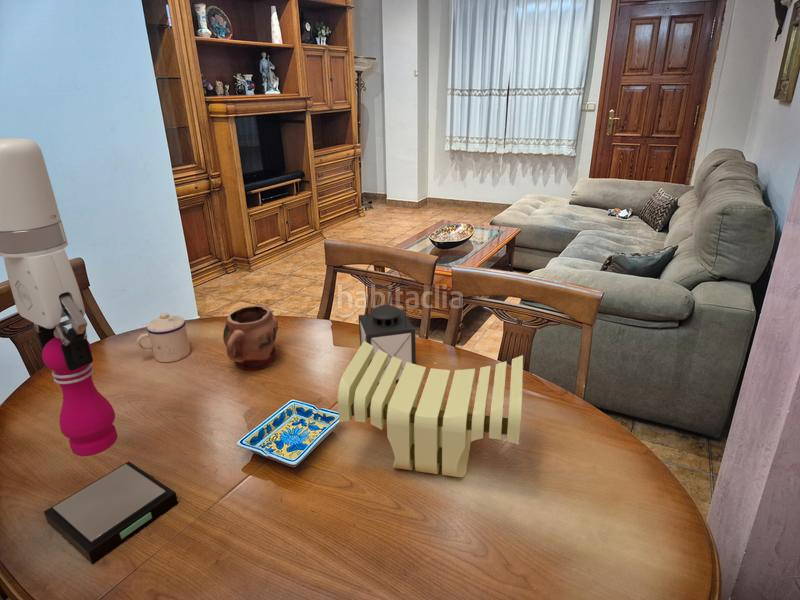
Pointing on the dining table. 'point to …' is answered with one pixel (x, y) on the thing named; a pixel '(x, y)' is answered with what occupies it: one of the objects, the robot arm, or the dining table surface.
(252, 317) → the decorative planter
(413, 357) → the lantern
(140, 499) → the kitchen scale
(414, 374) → the slatted curved stool
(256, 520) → the dining table surface
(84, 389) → the pepper mill
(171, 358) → the teacup with lid
